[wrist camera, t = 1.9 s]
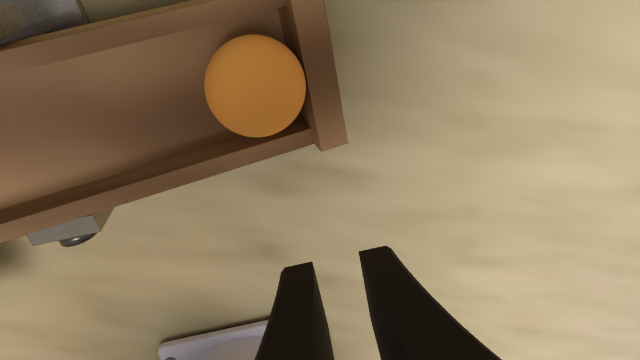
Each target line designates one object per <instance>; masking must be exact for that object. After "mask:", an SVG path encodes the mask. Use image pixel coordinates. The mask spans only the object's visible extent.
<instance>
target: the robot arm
mask: <svg viewBox="0 0 640 360" xmlns="http://www.w3.org/2000/svg"><path fill="white" fill-rule="evenodd" d="M359 256H360V261H361V267H362V272H363V278H364V284H365V289H366V295H367V301H368V306H369V312H370V318H371V322H372V326H373V330H374V333H375V337H376V341H377V345H378V349H379V353H380V357H381V360H501V359H500V358H499V357H498V356H496V355H495V354H494V353H493V352H492V351H490V350H489V349H488V348H487V347H486V346H485V345H483V344H482V343H481V342H480V341H479V340H478V339H477V338H475V337H474V336H473V335H472V334H471V333H470V332H469V331H468V330H466V329H465V328H464V327H463V326H462V325H461V324H460V323H459V322H458V321H457V320H456V319H454V318H453V317H452V316H451V315H450V314H449V313H448V312H447V311H446V310H445V309H444V308H443V307H442V306H441V305H440V304H439V303H438V302H437V301H436V300H435V299H434V298H433V297H432V296H431V295H430V294H429V293H428V292H427V291H426V290H425V289H424V287H423V286H422V285H421V284H420V283H419V282H418V281H417V280H416V279H415V278H414V276H413V275H412V274H411V273H410V272H409V271H408V269H407V268H406V267H405V266H404V265H403V263H402V262H401V261H400V260H399V258H398V257H397V256H396V254H395V253H394V252H393V250H392V249H391V248H389V247H388V246H382V247H378V248H373V249H368V250H364V251H359ZM158 356H159V358H160V359H161V360H334V356H333V350H332V345H331V339H330V334H329V328H328V324H327V320H326V316H325V312H324V307H323V303H322V299H321V295H320V291H319V287H318V283H317V279H316V275H315V271H314V267H313V263H312V262H308V263H303V264H299V265H294V266H289V267H285V268H284V269H283V271H282V272H281V276H280V281H279V285H278V290H277V294H276V297H275V301H274V304H273V308H272V311H271V314H270V318H269V320H265V321H261V322H256V323H251V324H247V325H242V326H237V327H233V328H228V329H223V330H219V331H214V332H210V333H205V334H200V335H196V336H191V337H186V338H182V339H177V340H173V341H168V342H164V343H162V344H161V345H160V346H159V349H158Z"/></svg>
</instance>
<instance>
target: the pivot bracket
mask: <svg viewBox="0 0 640 360" xmlns="http://www.w3.org/2000/svg"><path fill="white" fill-rule="evenodd" d="M86 24H89V23H88V20H87V18H86V15H85V13H84V11H83V8H82V6H81V4H80V1H79V0H0V44H4V43H8V42H13V41H17V40H21V39H26V38H30V37H34V36H39V35H43V34H47V33H51V32H56V31H60V30H64V29H69V28H73V27H77V26H81V25H86ZM113 208H114V207H112V208H109V209H106V210H103V211H100V212H97V213H93V214H90V215H87V216H84V217H81V218H78V219H75V220H71V221H68V222H65V223H62V224H59V225H56V226H52V227H49V228H46V229H43V230H40V231H37V232H33V233H30V234H27V235H26V236H27V237H28V239H29V240H30V242H31V244H32V245H33V246H35V245H40V244H45V243H49V242H54V241H59V243H60V244H61V245H62V246H65V247H70V246H75V245H78V244H81V243H83V242H85V241H87V240H89V239H91V238H92V237H93V236H94V235H96V234H97V232H101V230H102V228H103V226H104V225H105V223H106V221H107V219H108V217H109V216H110V214H111V212H112V210H113Z"/></svg>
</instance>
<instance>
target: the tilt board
mask: <svg viewBox="0 0 640 360" xmlns="http://www.w3.org/2000/svg"><path fill="white" fill-rule="evenodd" d="M254 34H256V35H264V36H268V37H271V38H273V39H276V40H277V41H279V42H281V43H282V44H284V45H285V46H286V47H288V48H289V49H290V50H291V51H292V52H293V53H294V55H295V56H296V57H297V59H298V61H299V62H300V64H301V67H302V69H303V72H304V76H305V81H306V93H305V99H304V103H303V106H302V108H301V110H300V112H299V114H298V115H297V117H296V118H295V119H294V121H293V122H292V123H291V124H290V125H289V126H287V127H286V128H285V129H283V130H282V131H280V132H278V133H276V134H273V135H270V136H266V137H247V136H243V135H240V134H237V133H235V132H233V131H231V130H229V129H228V128H226V127H225V126H224V125H222V124H221V123H220V122H219V121H218V120H217V118H216V117H215V116H214V114H213V113H212V111H211V109H210V108H209V105H208V103H207V100H206V96H205V90H204V78H205V73H206V69H207V66H208V64H209V62H210V60H211V58H212V56H213V55H214V53H215V52H216V51H217V50H218V49H219V48H220V47H221V46H222V45H224V44H225V43H227V42H228V41H230V40H232V39H234V38H236V37H240V36H244V35H254ZM347 143H348V142H347V136H346V130H345V124H344V118H343V112H342V106H341V100H340V94H339V88H338V82H337V76H336V70H335V64H334V58H333V52H332V46H331V40H330V34H329V28H328V22H327V16H326V10H325V4H324V0H189V1H185V2H180V3H176V4H172V5H167V6H163V7H159V8H154V9H150V10H146V11H142V12H137V13H133V14H129V15H124V16H120V17H116V18H112V19H107V20H103V21H99V22H94V23H90V24H86V25H81V26H77V27H73V28H69V29H64V30H60V31H56V32H51V33H47V34H43V35H39V36H34V37H30V38H26V39H21V40H17V41H13V42H8V43H4V44H0V243H2V242H5V241H8V240H11V239H15V238H18V237H21V236H24V235H27V234H30V233H33V232H37V231H40V230H43V229H46V228H49V227H52V226H56V225H59V224H62V223H65V222H68V221H71V220H75V219H78V218H81V217H84V216H87V215H90V214H93V213H97V212H100V211H103V210H106V209H109V208H112V207H116V206H119V205H122V204H125V203H128V202H131V201H135V200H138V199H141V198H144V197H147V196H150V195H154V194H157V193H160V192H163V191H166V190H169V189H172V188H176V187H179V186H182V185H185V184H188V183H191V182H195V181H198V180H201V179H204V178H207V177H210V176H214V175H217V174H220V173H223V172H226V171H229V170H232V169H236V168H239V167H242V166H245V165H248V164H251V163H255V162H258V161H261V160H264V159H267V158H270V157H274V156H277V155H280V154H283V153H286V152H289V151H292V150H296V149H299V148H302V147H305V146H308V145H311V144H315V145H316V146H317V147H318V148H319V149H320V151H321V152H322V151H325V150H328V149H331V148H334V147H337V146H340V145H344V144H347Z"/></svg>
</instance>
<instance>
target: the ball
mask: <svg viewBox="0 0 640 360" xmlns="http://www.w3.org/2000/svg"><path fill="white" fill-rule="evenodd" d="M204 90H205V96H206V100H207V103H208V105H209V108H210V109H211V111H212V113H213V114H214V116H215V117H216V118H217V120H218V121H219V122H220V123H221V124H222V125H224V126H225V127H226V128H228V129H229V130H231V131H233V132H235V133H237V134H240V135H243V136H247V137H266V136H270V135H273V134H276V133H278V132H280V131H282V130H283V129H285V128H286V127H287V126H289V125H290V124H291V123H292V122H293V121H294V119H295V118H296V117H297V115H298V114H299V112H300V110H301V108H302V106H303V103H304V99H305V93H306V81H305V76H304V72H303V69H302V67H301V64H300V62H299V61H298V59H297V57H296V56H295V55H294V53H293V52H292V51H291V50H290V49H289V48H288V47H286V46H285V45H284V44H282V43H281V42H279V41H277V40H276V39H273V38H271V37H268V36H264V35H256V34H254V35H244V36H240V37H236V38H234V39H232V40H230V41H228V42H227V43H225V44H224V45H222V46H221V47H220V48H219V49H218V50H217V51H216V52H215V53H214V55H213V56H212V58H211V60H210V62H209V64H208V66H207V69H206V73H205V78H204Z"/></svg>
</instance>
